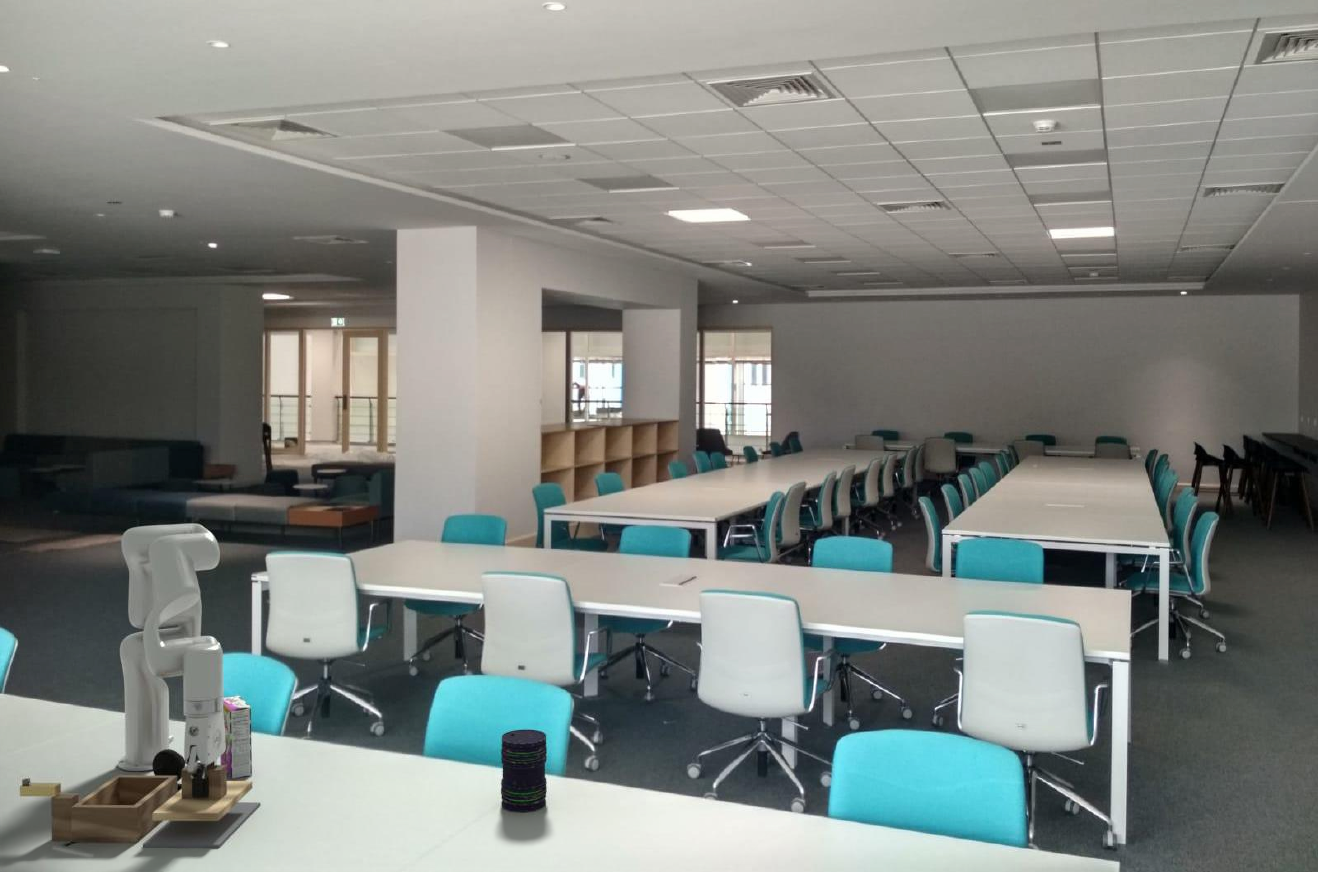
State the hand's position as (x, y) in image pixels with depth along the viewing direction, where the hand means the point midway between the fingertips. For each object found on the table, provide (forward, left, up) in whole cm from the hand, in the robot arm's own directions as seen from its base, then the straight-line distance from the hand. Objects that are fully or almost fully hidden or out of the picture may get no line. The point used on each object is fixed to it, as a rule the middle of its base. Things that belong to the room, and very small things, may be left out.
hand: (204, 793), depth 225 cm
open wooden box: (0, -18, -7) cm, 19 cm away
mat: (0, 0, -7) cm, 7 cm away
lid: (0, 0, -2) cm, 2 cm away
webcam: (-17, -15, -7) cm, 24 cm away
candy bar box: (-32, -6, -7) cm, 33 cm away
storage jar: (-13, +64, -7) cm, 66 cm away
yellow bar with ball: (+7, -30, +2) cm, 31 cm away
